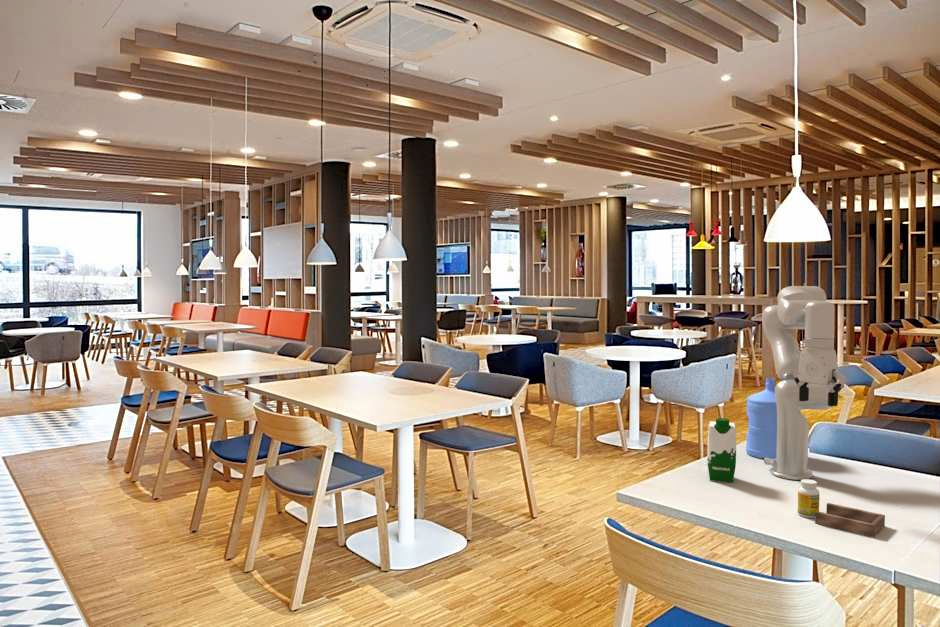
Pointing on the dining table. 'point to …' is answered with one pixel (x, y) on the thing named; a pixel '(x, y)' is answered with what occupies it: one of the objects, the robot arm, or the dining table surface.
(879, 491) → the dining table surface
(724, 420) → the milk carton
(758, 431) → the water jug
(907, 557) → the dining table surface
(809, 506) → the supplement bottle
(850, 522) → the u rest
